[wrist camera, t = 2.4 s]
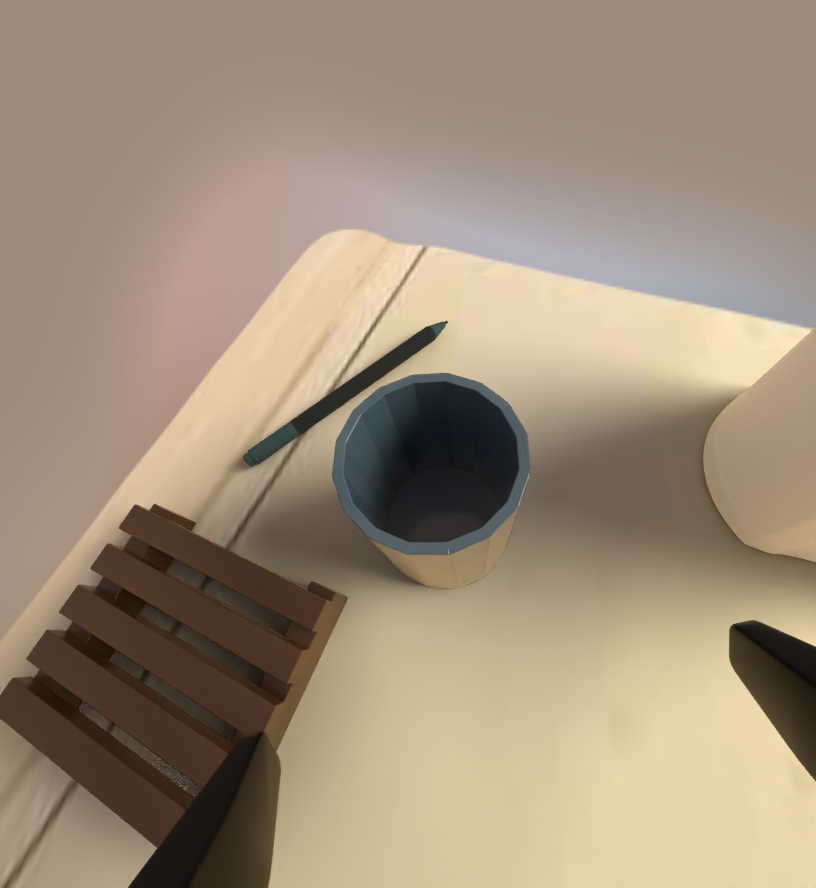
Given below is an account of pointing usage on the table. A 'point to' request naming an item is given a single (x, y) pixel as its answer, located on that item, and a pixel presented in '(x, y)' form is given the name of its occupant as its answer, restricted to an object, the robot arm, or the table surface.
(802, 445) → the jar
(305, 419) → the pen
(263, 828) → the robot arm
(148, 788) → the rack
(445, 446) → the cup
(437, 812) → the table surface
